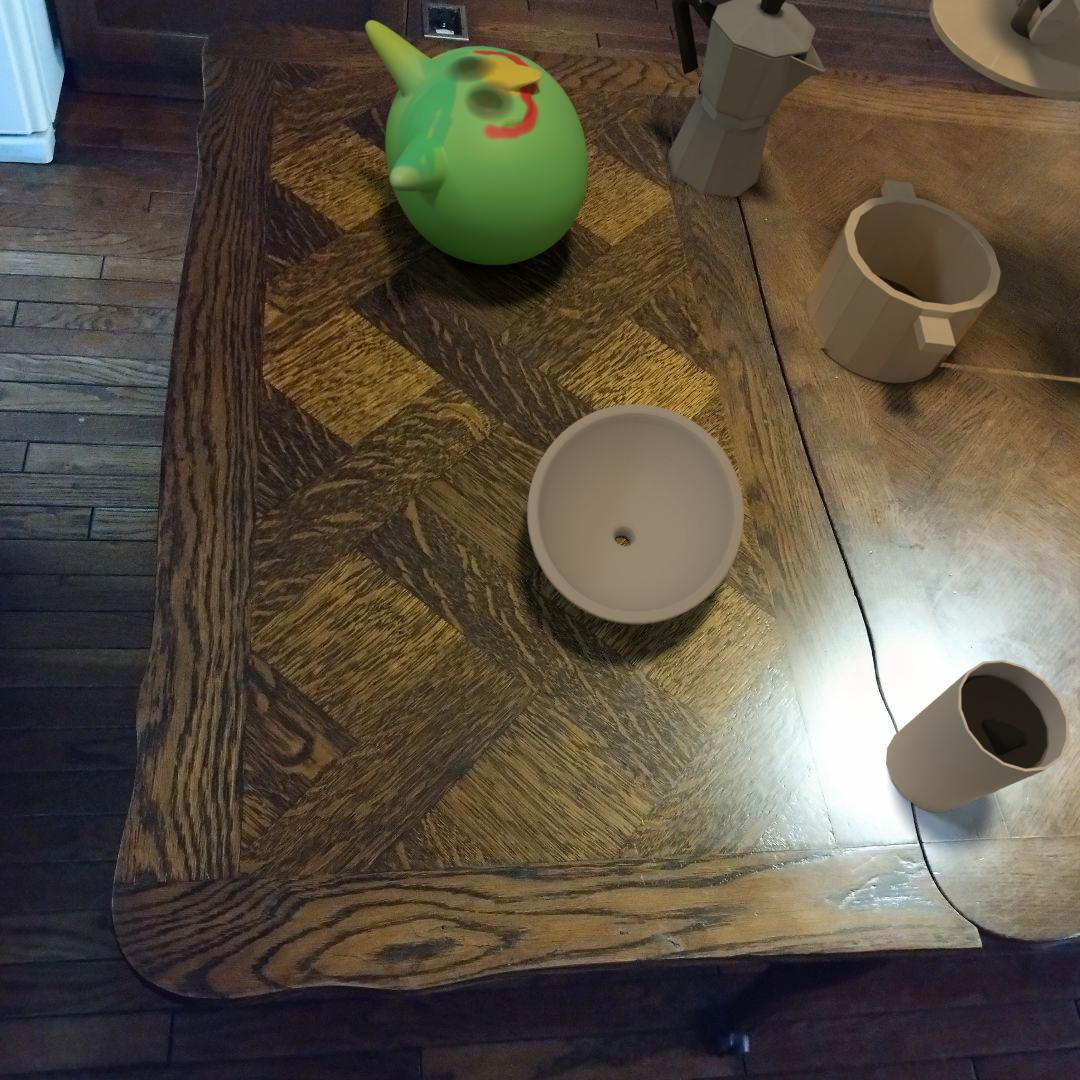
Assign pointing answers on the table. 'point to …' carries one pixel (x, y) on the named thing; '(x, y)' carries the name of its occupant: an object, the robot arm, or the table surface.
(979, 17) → the lid
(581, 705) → the table surface
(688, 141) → the coffee maker
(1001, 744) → the grey cup
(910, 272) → the pot
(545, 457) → the dish
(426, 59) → the toy bird
